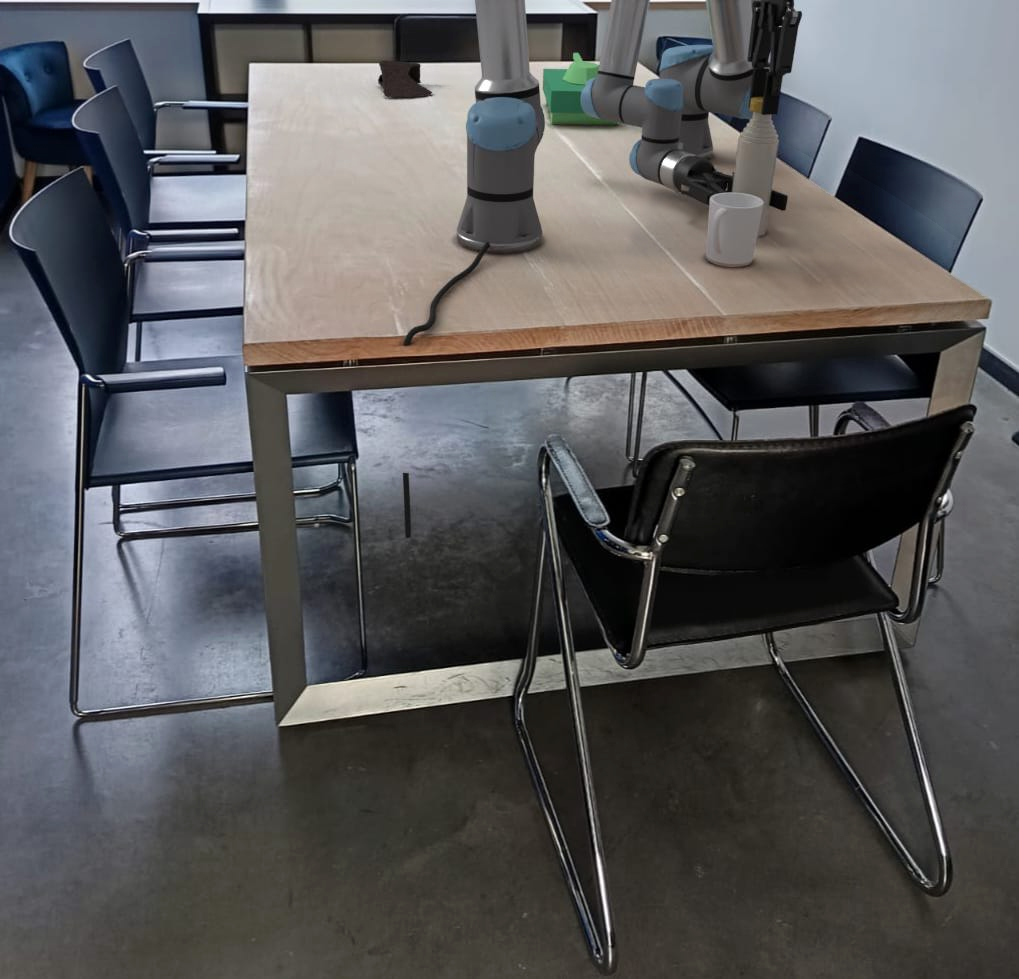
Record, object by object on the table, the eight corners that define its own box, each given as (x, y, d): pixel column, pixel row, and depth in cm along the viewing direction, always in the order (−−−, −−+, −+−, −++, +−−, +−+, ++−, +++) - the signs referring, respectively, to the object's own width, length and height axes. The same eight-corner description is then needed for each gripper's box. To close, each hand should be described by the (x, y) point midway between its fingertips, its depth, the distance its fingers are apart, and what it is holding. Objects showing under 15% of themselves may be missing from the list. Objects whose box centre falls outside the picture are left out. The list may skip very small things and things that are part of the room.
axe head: (443, 87, 294) (392, 77, 287) (436, 115, 299) (385, 106, 292) (421, 62, 307) (371, 52, 300) (414, 89, 311) (365, 80, 304)
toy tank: (607, 49, 292) (625, 75, 262) (604, 97, 299) (621, 128, 269) (541, 48, 291) (552, 74, 261) (539, 96, 298) (549, 127, 268)
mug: (719, 246, 195) (726, 189, 189) (764, 258, 190) (773, 199, 185) (687, 262, 187) (693, 203, 182) (733, 275, 183) (741, 214, 177)
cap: (765, 106, 194) (766, 95, 194) (781, 112, 191) (782, 101, 190) (744, 108, 193) (745, 97, 192) (760, 114, 189) (761, 103, 188)
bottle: (766, 227, 205) (784, 101, 194) (764, 238, 200) (783, 110, 188) (728, 223, 207) (744, 98, 195) (725, 235, 201) (741, 107, 189)
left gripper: (829, -30, 173) (805, 121, 186) (778, -42, 188) (759, 99, 200) (786, -30, 172) (765, 123, 184) (738, -42, 186) (722, 100, 198)
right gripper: (725, 187, 220) (806, 218, 203) (645, 200, 211) (723, 235, 194) (730, 149, 216) (813, 178, 199) (649, 161, 207) (728, 192, 190)
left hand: (762, 110), depth 192 cm, fingers closed on cap, 4 cm apart
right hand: (768, 206), depth 197 cm, fingers closed on bottle, 7 cm apart
